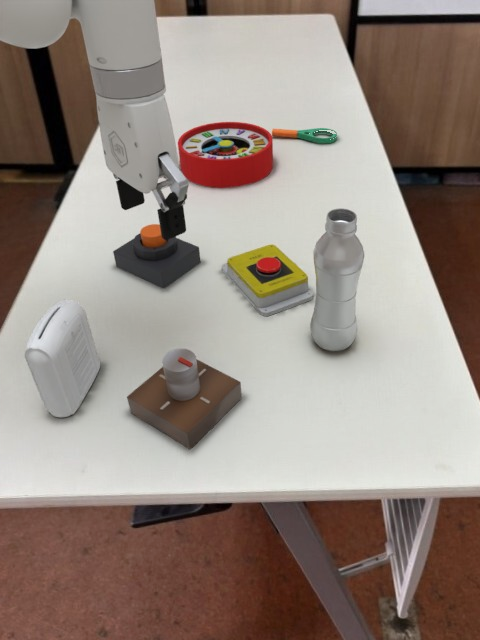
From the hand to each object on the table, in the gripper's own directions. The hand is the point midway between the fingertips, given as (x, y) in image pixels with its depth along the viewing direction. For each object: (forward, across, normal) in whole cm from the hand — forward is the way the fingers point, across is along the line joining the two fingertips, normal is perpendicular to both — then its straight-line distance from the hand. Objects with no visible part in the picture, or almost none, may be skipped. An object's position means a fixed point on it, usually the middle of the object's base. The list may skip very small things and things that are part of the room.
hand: (153, 220), depth 72 cm
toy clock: (+18, -38, +39) cm, 57 cm away
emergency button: (+18, +1, +18) cm, 25 cm away
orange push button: (+13, -15, +7) cm, 21 cm away
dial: (+15, +14, -7) cm, 22 cm away
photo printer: (+18, +2, -16) cm, 25 cm away
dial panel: (+18, +14, -7) cm, 24 cm away
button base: (+18, -15, +7) cm, 25 cm away
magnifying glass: (+18, -37, +61) cm, 74 cm away
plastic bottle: (+18, +18, +16) cm, 30 cm away
